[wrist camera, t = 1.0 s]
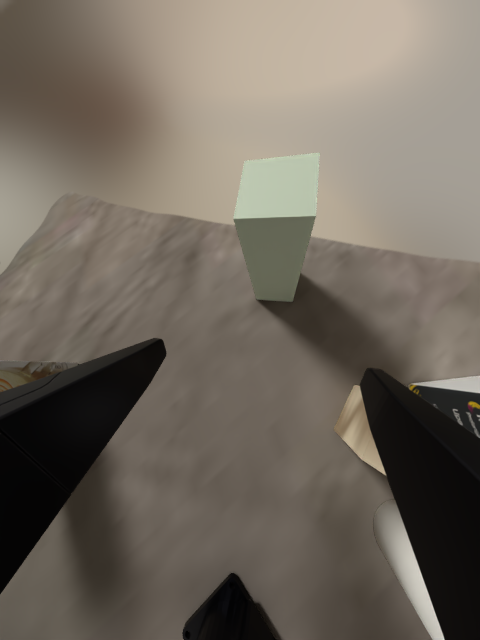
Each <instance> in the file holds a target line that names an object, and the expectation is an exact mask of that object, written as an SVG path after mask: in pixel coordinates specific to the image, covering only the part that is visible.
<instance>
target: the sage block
mask: <svg viewBox="0 0 480 640" xmlns="http://www.w3.org/2000/svg"><path fill="white" fill-rule="evenodd" d="M319 155H320V153H312V154H303V155H294V156H285V157H276V158H267V159H258V160H249V161H245V162H244V167H243V173H242V177H241V182H240V188H239V193H238V199H237V203H236V208H235V213H234V222H235V226H236V230H237V233H238V237H239V240H240V244H241V247H242V251H243V254H244V258H245V261H246V265H247V269H248V272H249V276H250V279H251V283H252V286H253V290H254V293H255V297H256V299H257V300H271V301H285V302H293V299H294V295H295V292H296V288H297V284H298V280H299V277H300V273H301V269H302V266H303V262H304V258H305V254H306V251H307V247H308V243H309V240H310V236H311V231H312V228H313V224H314V220H315V217H316V204H317V189H318V173H319Z"/></svg>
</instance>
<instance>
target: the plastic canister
mask: <svg viewBox="0 0 480 640" xmlns="http://www.w3.org/2000/svg"><path fill="white" fill-rule="evenodd" d="M373 529H374V535H375V538H376V541H377V543H378V546H379V547H380V549H381V551H382V553H383V555H384V556H385V558H386V560H387V562H388V563H389V565H390V567H391V569H392V570H393V572H394V574H395V575H396V577H397V579H398V581H399V582H400V584H401V586H402V588H403V589H404V591H405V593H406V595H407V596H408V598H409V600H410V602H411V603H412V605H413V607H414V608H415V610H416V612H417V614H418V615H419V617H420V619H421V621H422V622H423V624H424V626H425V628H426V629H427V631H428V633H429V634H430V636H431V638H432V640H445V639H444V636H443V634H442V631H441V628H440V625H439V622H438V620H437V617H436V614H435V611H434V608H433V605H432V603H431V600H430V597H429V594H428V591H427V589H426V586H425V583H424V580H423V577H422V575H421V572H420V569H419V566H418V563H417V560H416V558H415V555H414V552H413V549H412V546H411V544H410V541H409V538H408V535H407V532H406V530H405V527H404V524H403V521H402V518H401V515H400V513H399V510H398V507H397V504H396V501H395V499H392V500H388V501H386V502H384V503H382V504H381V505H380V506H379V507H378V509H377V511H376V513H375V515H374V520H373Z"/></svg>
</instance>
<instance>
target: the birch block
mask: <svg viewBox="0 0 480 640" xmlns="http://www.w3.org/2000/svg"><path fill="white" fill-rule="evenodd" d="M334 431H335V432H336V433H337V434H338V435H339V436H340V437H341V438H342V439H343V440H344V441H345V442H346V443H347V444H348V445H349V447H350V448H351V449H352V450H353V451H354V452H355V453H356V454H357V455H358V456H359V457H360V458H361V459H362V460H363V461H365V462H366V463H368V464H369V465H371V466H372V467H374V468H375V469H377V470H378V471H380V472H381V473H383V474H384V475H386V473H385V470H384V468H383V465H382V462H381V459H380V456H379V454H378V451H377V448H376V445H375V442H374V440H373V437H372V434H371V431H370V427H369V424H368V420H367V415H366V411H365V407H364V403H363V398H362V394H361V390H360V386H358V385H354V386H353V389H352V391H351V393H350V395H349V397H348V399H347V402H346V404H345V406H344V408H343V410H342V412H341V415H340V417H339V419H338V421H337V423H336V425H335V427H334Z"/></svg>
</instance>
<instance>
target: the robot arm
mask: <svg viewBox="0 0 480 640" xmlns="http://www.w3.org/2000/svg"><path fill="white" fill-rule="evenodd" d="M165 357H166V349H165V345H164V342H163V340H162V339H158V338H153V339H150V340H147V341H144V342H141V343H139V344H136V345H133V346H130V347H127V348H125V349H122V350H119V351H116V352H114V353H111V354H108V355H105V356H102V357H100V358H97V359H94V360H91V361H88V362H86V363H83V364H80V365H77V366H75V367H72V368H69V369H66V370H63V371H62V372H58V373H55V374H52V375H49V376H47V377H44V378H41V379H38V380H35V381H32V382H29V383H26V384H23V385H20V386H17V387H14V388H11V389H8V390H5V391H2V392H0V594H1V592H2V591H3V590H4V588H5V587H6V586H7V584H8V583H9V581H10V580H11V579H12V577H13V576H14V574H15V573H16V572H17V570H18V569H19V567H20V566H21V565H22V563H23V562H24V560H25V559H26V558H27V556H28V555H29V553H30V552H31V550H32V549H33V548H34V546H35V545H36V543H37V542H38V541H39V539H40V538H41V536H42V535H43V534H44V532H45V531H46V529H47V528H48V527H49V525H50V524H51V522H52V521H53V520H54V518H55V517H56V515H57V514H58V512H59V511H60V510H61V508H62V507H63V505H64V504H65V503H66V501H67V500H68V498H69V497H70V496H71V493H72V492H73V491H74V490H75V488H76V487H77V485H78V484H79V483H80V481H81V480H82V478H83V477H84V476H85V474H86V473H87V471H88V470H89V469H90V467H91V466H92V464H93V463H94V462H95V460H96V459H97V457H98V456H99V455H100V453H101V452H102V450H103V449H104V448H105V446H106V445H107V443H108V442H109V441H110V439H111V438H112V436H113V435H114V434H115V432H116V431H117V429H118V428H119V426H120V425H121V424H122V422H123V421H124V419H125V418H126V417H127V415H128V414H129V412H130V411H131V410H132V408H133V407H134V405H135V404H136V403H137V401H138V400H139V398H140V397H141V396H142V394H143V393H144V391H145V390H146V389H147V387H148V386H149V384H150V383H151V381H152V379H153V378H154V376H155V374H156V372H157V371H158V369H159V367H160V366H161V364H162V362H163V360H164V359H165ZM360 390H361V394H362V398H363V403H364V407H365V411H366V415H367V420H368V424H369V427H370V431H371V434H372V437H373V440H374V442H375V445H376V448H377V451H378V454H379V456H380V459H381V462H382V465H383V468H384V470H385V473H386V476H387V479H388V482H389V485H390V487H391V490H392V493H393V496H394V499H395V501H396V504H397V507H398V510H399V513H400V515H401V518H402V521H403V524H404V527H405V530H406V532H407V535H408V538H409V541H410V544H411V546H412V549H413V552H414V555H415V558H416V560H417V563H418V566H419V569H420V572H421V575H422V577H423V580H424V583H425V586H426V589H427V591H428V594H429V597H430V600H431V603H432V605H433V608H434V611H435V614H436V617H437V620H438V622H439V625H440V628H441V631H442V634H443V636H444V639H445V640H480V438H479V437H478V436H476V435H475V434H473V433H472V432H470V431H469V430H468V429H466V428H465V427H463V426H462V425H460V424H459V423H457V422H456V421H455V420H453V419H452V418H450V417H449V416H447V415H446V414H445V413H443V412H442V411H440V410H439V409H437V408H436V407H434V406H433V405H432V404H430V403H429V402H427V401H426V400H424V399H423V398H421V397H420V396H419V395H417V394H416V393H414V392H413V391H411V390H410V389H409V388H407V387H406V386H404V385H403V384H401V383H400V382H398V381H397V380H396V379H394V378H393V377H391V376H390V375H388V374H387V373H385V372H384V371H383V370H381V369H375V368H367V369H366V371H365V373H364V376H363V378H362V380H361V383H360ZM231 582H233V583H234V584H232V583H231ZM183 639H184V640H275V639H274V637H273V635H272V634H271V632H270V630H269V629H268V627H267V625H266V624H265V622H264V620H263V619H262V617H261V615H260V614H259V612H258V610H257V609H256V607H255V605H254V603H253V602H252V600H251V599H250V597H249V595H248V594H247V592H246V590H245V589H244V587H243V585H242V584H241V582H240V580H239V579H238V577H237V576H236V574H234V573H231V574H229V575H228V577H227V578H226V579H225V580H224V581H223V582H222V583H221V584H220V585H219V586H218V588H217V589H216V590H215V591H214V592H213V593H212V594H211V595H210V596H209V597H208V599H207V600H206V601H205V602H204V603H203V604H202V605H201V606H200V607H199V608H198V610H197V611H196V612H195V613H194V614H193V615H192V616H191V617H190V618H189V619H188V621H187V622H186V623H185V626H184V629H183Z"/></svg>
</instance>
